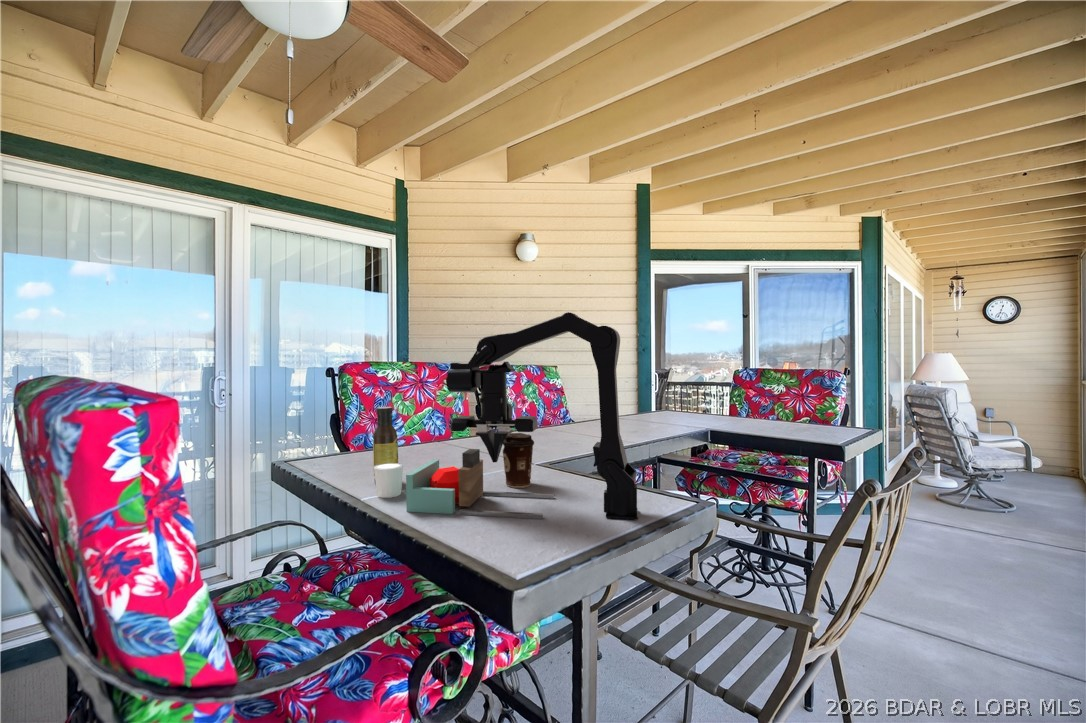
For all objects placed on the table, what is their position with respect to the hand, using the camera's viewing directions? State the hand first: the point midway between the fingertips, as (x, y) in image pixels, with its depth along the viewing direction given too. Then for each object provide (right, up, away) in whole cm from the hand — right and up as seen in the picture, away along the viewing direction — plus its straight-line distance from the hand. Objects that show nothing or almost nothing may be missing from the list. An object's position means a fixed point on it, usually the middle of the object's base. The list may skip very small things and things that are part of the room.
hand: (495, 462), depth 112 cm
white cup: (-27, -10, +9) cm, 30 cm away
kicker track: (+3, -10, 0) cm, 10 cm away
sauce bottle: (-31, -10, +20) cm, 38 cm away
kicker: (-5, -10, +1) cm, 11 cm away
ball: (-11, -10, +3) cm, 15 cm away
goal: (-12, -10, +2) cm, 15 cm away
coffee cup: (+4, -10, +17) cm, 20 cm away
